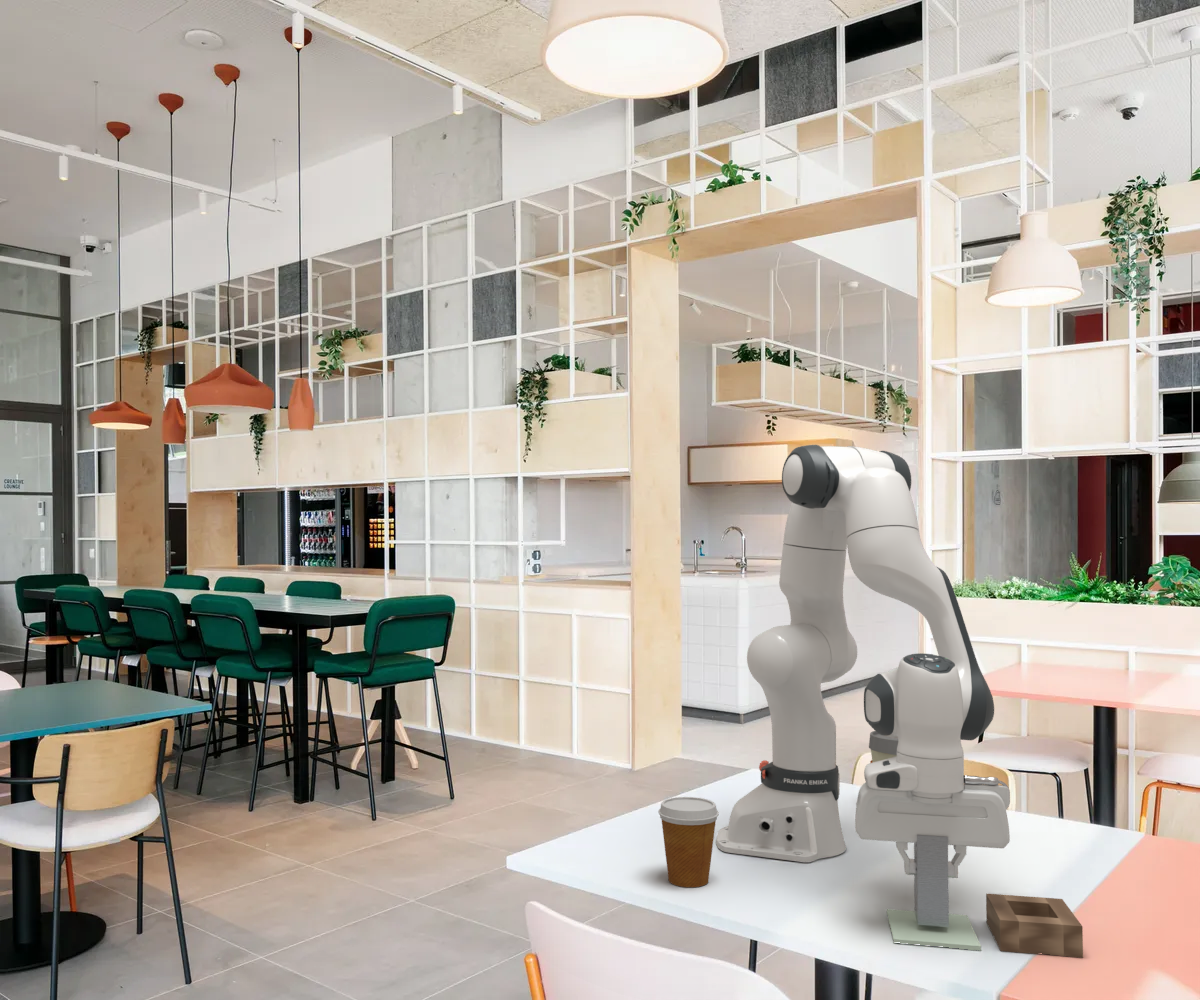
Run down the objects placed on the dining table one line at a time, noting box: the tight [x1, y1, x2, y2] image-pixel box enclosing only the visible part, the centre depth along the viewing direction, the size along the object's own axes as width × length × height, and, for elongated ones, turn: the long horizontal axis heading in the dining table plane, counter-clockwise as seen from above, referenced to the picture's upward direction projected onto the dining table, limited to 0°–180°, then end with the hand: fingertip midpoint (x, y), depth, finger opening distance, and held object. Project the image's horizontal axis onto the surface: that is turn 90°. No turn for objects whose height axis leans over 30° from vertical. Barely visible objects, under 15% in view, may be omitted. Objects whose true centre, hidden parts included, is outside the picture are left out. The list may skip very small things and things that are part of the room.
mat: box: [886, 908, 982, 952], centre depth 135 cm, size 11×11×1 cm
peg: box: [913, 835, 950, 927], centre depth 135 cm, size 4×4×12 cm
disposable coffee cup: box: [657, 796, 720, 888], centre depth 155 cm, size 10×10×12 cm
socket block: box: [985, 893, 1084, 959], centre depth 132 cm, size 10×10×4 cm
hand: (930, 875), depth 135 cm, fingers closed on peg, 4 cm apart
